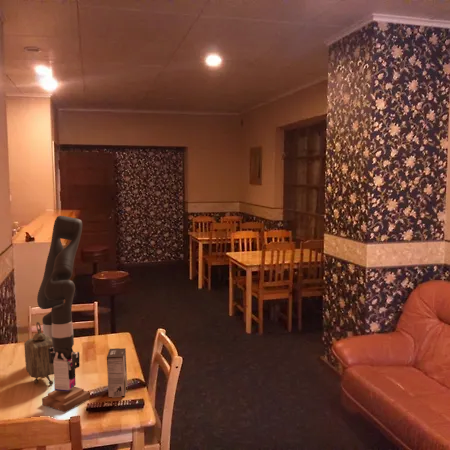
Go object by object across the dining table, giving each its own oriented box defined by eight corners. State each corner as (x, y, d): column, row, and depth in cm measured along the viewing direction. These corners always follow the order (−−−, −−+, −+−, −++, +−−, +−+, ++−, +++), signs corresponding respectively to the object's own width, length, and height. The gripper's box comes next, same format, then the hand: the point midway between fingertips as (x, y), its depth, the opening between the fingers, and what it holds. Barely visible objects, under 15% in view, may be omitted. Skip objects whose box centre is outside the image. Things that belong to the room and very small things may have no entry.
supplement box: (68, 391, 184) (67, 361, 183) (54, 390, 185) (52, 360, 184) (76, 385, 190) (75, 355, 188) (62, 384, 191) (60, 354, 189)
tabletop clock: (56, 385, 202) (53, 325, 200) (33, 391, 197) (29, 329, 195) (48, 373, 214) (44, 316, 212) (26, 378, 210) (22, 320, 207)
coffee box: (111, 387, 199) (109, 348, 197) (127, 386, 200) (126, 347, 198) (108, 398, 190) (106, 356, 188) (125, 397, 191) (123, 356, 189)
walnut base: (42, 404, 186) (41, 394, 185) (67, 392, 196) (66, 382, 195) (65, 411, 180) (65, 401, 179) (89, 398, 190) (89, 388, 190)
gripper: (40, 333, 185) (43, 377, 187) (68, 339, 178) (71, 384, 180) (56, 328, 192) (59, 369, 194) (84, 333, 185) (86, 376, 187)
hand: (65, 376), depth 187 cm, fingers closed on supplement box, 6 cm apart
